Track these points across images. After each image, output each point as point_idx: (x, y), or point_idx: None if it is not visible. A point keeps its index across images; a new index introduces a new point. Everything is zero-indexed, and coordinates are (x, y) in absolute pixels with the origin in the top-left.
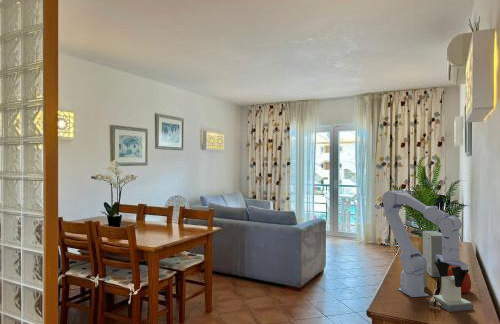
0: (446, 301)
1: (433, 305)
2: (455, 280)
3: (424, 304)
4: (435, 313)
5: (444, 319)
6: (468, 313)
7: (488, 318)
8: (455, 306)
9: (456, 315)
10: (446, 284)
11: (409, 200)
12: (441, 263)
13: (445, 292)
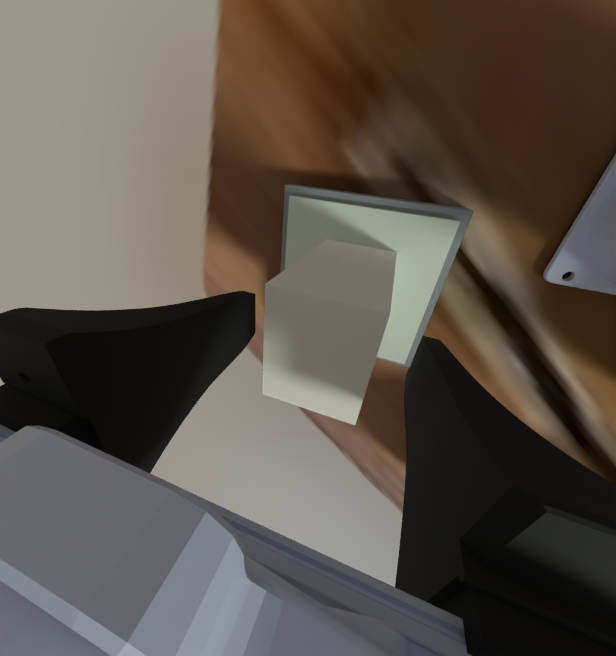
0: (331, 218)
1: (408, 164)
2: (205, 303)
3: (457, 101)
4: (301, 52)
5: (216, 41)
6: (260, 262)
7: (209, 290)
8: (283, 228)
9: (252, 180)
10: (321, 272)
11: None
12: (460, 544)
13: (352, 256)
